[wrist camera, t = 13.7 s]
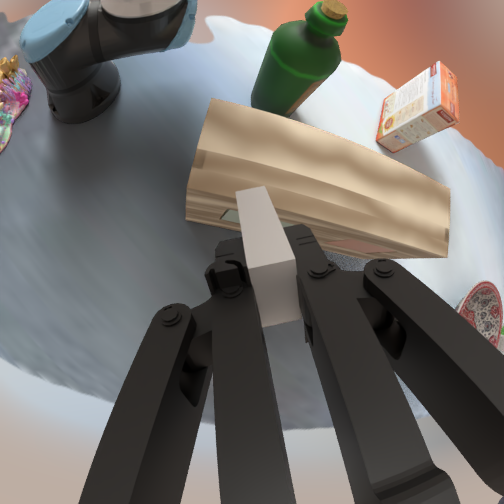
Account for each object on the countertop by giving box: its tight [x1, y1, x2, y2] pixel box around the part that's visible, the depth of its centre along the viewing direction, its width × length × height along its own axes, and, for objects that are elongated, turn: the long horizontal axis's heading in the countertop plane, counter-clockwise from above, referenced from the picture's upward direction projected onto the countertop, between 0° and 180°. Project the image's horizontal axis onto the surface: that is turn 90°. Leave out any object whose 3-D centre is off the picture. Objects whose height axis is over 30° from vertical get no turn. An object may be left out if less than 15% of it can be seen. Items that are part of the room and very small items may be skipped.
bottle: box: [251, 0, 348, 118], centre depth 38 cm, size 11×11×28 cm
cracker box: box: [376, 61, 459, 153], centre depth 48 cm, size 14×6×21 cm, turn 158°
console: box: [186, 98, 450, 259], centre depth 41 cm, size 10×34×22 cm, turn 79°
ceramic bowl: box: [455, 281, 503, 348], centre depth 58 cm, size 29×29×8 cm
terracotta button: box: [324, 239, 395, 253], centre depth 41 cm, size 3×8×8 cm, turn 79°
